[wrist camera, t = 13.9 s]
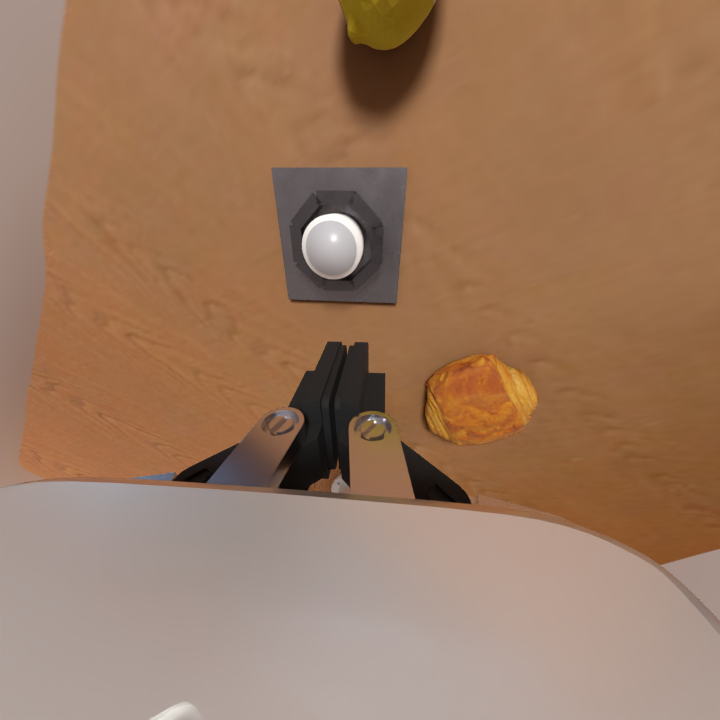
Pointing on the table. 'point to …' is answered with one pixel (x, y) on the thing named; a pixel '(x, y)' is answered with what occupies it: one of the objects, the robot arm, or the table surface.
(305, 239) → the cap
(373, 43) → the lemon
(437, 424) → the croissant
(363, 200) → the octagonal hole plate
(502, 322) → the table surface
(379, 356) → the table surface
